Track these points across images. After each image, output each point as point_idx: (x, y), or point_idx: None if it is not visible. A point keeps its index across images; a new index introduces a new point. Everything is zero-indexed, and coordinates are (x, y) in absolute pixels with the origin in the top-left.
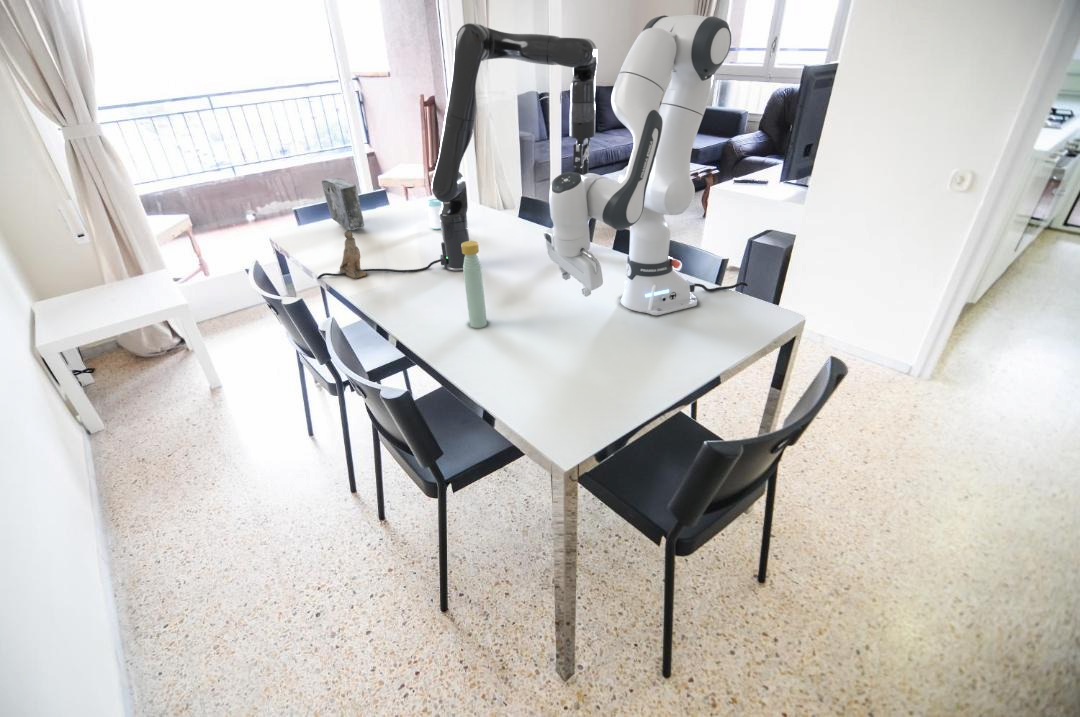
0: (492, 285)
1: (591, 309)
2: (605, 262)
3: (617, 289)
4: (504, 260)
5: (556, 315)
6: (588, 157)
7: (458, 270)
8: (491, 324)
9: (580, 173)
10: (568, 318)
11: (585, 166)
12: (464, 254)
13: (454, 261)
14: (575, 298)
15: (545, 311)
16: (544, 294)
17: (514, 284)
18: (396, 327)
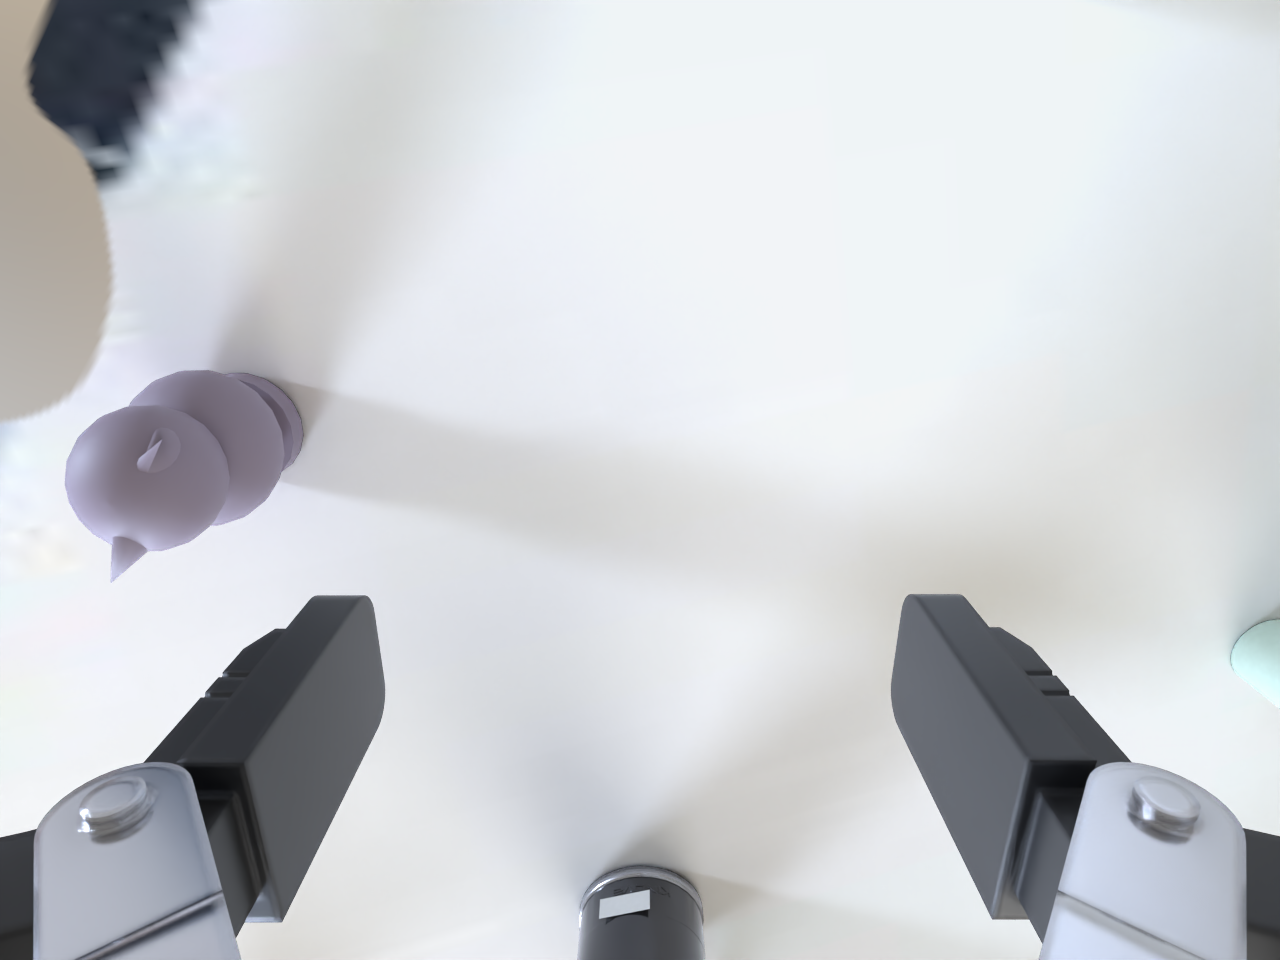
0: (846, 719)
1: (1138, 158)
2: (388, 195)
3: (841, 34)
4: (513, 760)
5: (1203, 338)
6: (112, 862)
7: (699, 898)
8: (1274, 601)
9: (1075, 704)
10: (1244, 267)
11: (309, 733)
12: (680, 944)
13: (704, 949)
14: (988, 282)
15: (1152, 404)
16: (941, 459)
17: (824, 631)
18: None
